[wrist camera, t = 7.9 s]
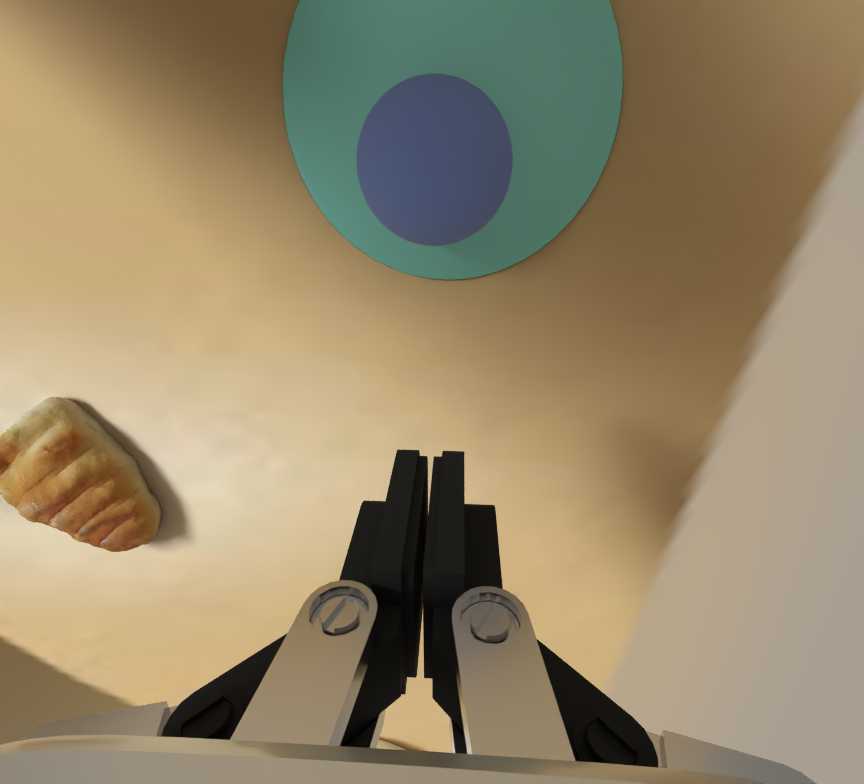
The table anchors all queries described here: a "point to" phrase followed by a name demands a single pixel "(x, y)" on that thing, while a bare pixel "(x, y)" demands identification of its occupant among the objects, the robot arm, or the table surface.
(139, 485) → the pastry
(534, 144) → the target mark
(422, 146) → the ball
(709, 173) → the table surface
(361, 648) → the robot arm
